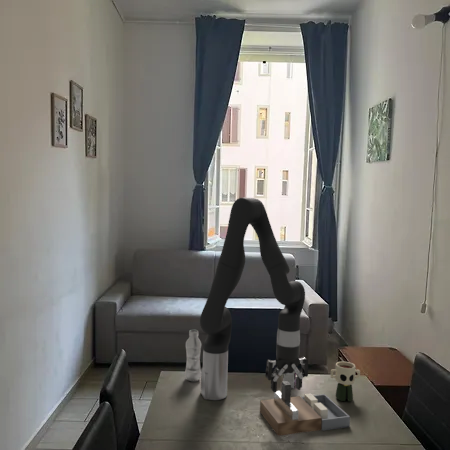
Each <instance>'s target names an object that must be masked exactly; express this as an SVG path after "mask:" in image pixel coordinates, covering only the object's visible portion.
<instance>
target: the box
mask: <svg viewBox="0 0 450 450" xmlns="http://www.w3.org/2000/svg"><path fill="white" fill-rule="evenodd" d="M312 395H313V396H314V397H315V398H316V399H317V400H318V403H320V402H321V403H322V404H323V405H324V406H325V407H326V408H327V409H328V418H327V419H323V418H322V417H321V416H320V415H319V414H318V413H317V412H316V411H315V410H314V409H313V408H312V407H311V406H310V405H309V404H308V403H307V402H306V401H305V400H304V395H303V396H300V397H301V398H302V399H303V400H304V401H305V402H306V403H307V404H308V405H309V406H310V407H311V408H312V409H313V410H314V411H315V412H316V413H317V414H318V415H319V416H320V417H321V418H322V425H321V430H320V431H323V432H324V431H330V430H338V429H344V428H351V426H350V425H351V416H350V414H348V413H347V412H345V410H344V409H342V408H341V407H340V406H339V405H337V404H336V403H335V402H334V401H333V400H332V399H331V398H330V397H329V396H328V395H326V394H325V393H324V394H322V393H321V394H315V395H314V394H312Z"/></svg>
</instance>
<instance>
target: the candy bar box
mask: <svg viewBox="0 0 450 450" xmlns="http://www.w3.org/2000/svg"><path fill="white" fill-rule="evenodd" d="M296 377H297V375H296V374H295V372H293V373H286V374H284V373H282V381H288V382H289V383H290V384H291V390H292V389H293V390H294V389H296Z"/></svg>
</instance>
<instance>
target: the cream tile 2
mask: <svg viewBox="0 0 450 450" xmlns="http://www.w3.org/2000/svg"><path fill="white" fill-rule="evenodd" d="M314 410H315V411H316V412H317V413H318V414H319V415H320V416H321V417H322V418H323V419H327V418H328V409H327V408H326V407H325V406H324V405H323V404H322V403H321V402H320V403H314Z"/></svg>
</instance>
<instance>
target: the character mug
mask: <svg viewBox="0 0 450 450" xmlns="http://www.w3.org/2000/svg"><path fill="white" fill-rule="evenodd" d="M356 368H357V367H356V364H355V363H353V362H348V361H338V362H335V368H334V369H333V368H332V369H331V370H330V378H332V379H335V381H336V382H337V384H336V385H337V386H336V390H335V398H336V399H337V400H338V401H340V402H346V400H347V402H353V400H354V394H353V393H354V392H353V384H354V383H355V381H356V379H360V377H361V369H356ZM356 373H357V375H356ZM334 374H335V375H334Z"/></svg>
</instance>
